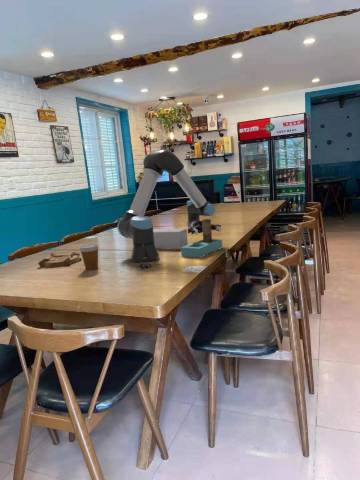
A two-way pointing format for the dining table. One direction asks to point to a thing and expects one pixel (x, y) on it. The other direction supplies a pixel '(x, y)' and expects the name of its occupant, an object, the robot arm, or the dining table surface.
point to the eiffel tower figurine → (145, 261)
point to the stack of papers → (170, 238)
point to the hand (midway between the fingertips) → (208, 230)
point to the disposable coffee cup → (90, 256)
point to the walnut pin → (207, 230)
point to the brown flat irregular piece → (59, 260)
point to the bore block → (200, 248)
